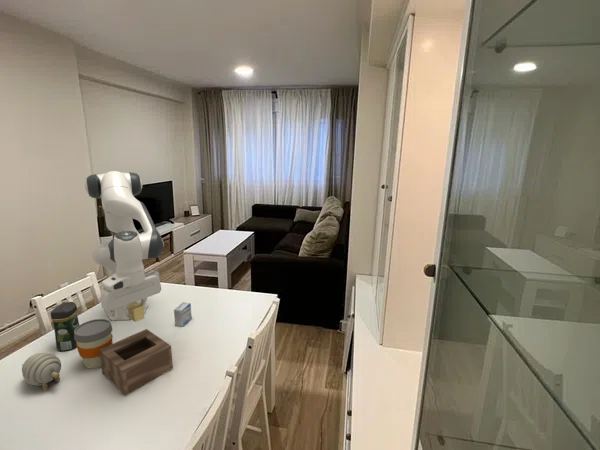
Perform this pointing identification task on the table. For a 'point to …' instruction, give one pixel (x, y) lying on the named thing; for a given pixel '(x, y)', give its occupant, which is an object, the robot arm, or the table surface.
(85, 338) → the reusable coffee cup
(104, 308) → the robot arm
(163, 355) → the box
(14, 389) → the table surface
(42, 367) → the toy sheep
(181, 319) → the medicine box
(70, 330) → the coffee jar
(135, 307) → the tan wooden block
